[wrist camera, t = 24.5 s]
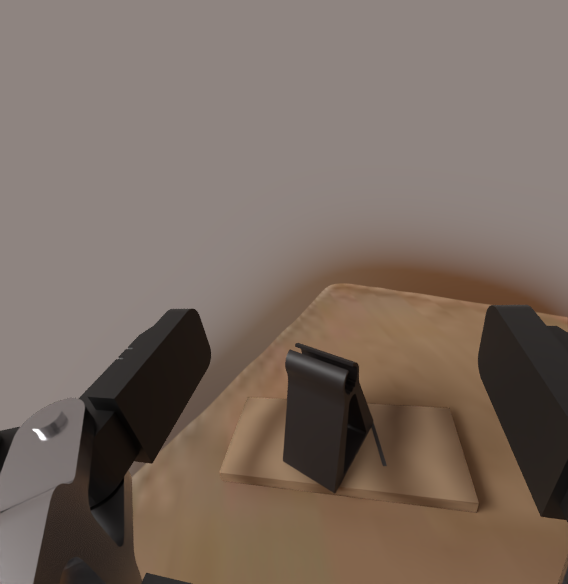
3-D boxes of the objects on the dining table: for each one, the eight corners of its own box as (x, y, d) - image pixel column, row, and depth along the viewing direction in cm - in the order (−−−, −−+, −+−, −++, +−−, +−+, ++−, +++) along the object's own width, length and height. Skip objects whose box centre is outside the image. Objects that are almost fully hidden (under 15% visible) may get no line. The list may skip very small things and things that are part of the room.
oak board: (448, 416, 36) (449, 407, 35) (476, 512, 28) (479, 503, 27) (249, 405, 42) (247, 396, 41) (222, 480, 33) (219, 472, 33)
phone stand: (326, 402, 38) (317, 321, 33) (374, 423, 35) (372, 337, 29) (282, 462, 32) (261, 377, 27) (334, 495, 29) (323, 405, 23)
